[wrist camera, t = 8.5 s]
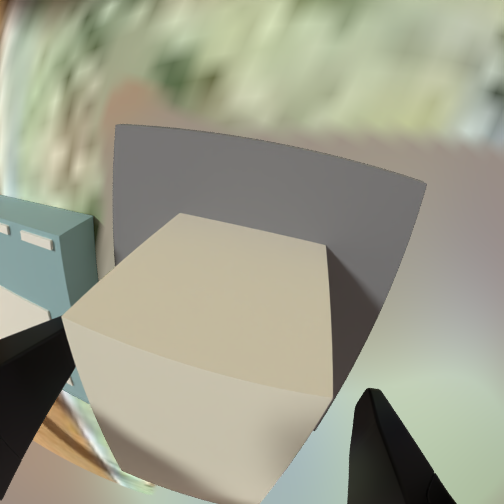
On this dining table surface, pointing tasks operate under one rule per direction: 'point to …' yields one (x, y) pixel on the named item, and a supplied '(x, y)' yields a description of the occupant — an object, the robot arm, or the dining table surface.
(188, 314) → the stub
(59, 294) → the ticket book
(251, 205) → the mat
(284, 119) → the dining table surface
